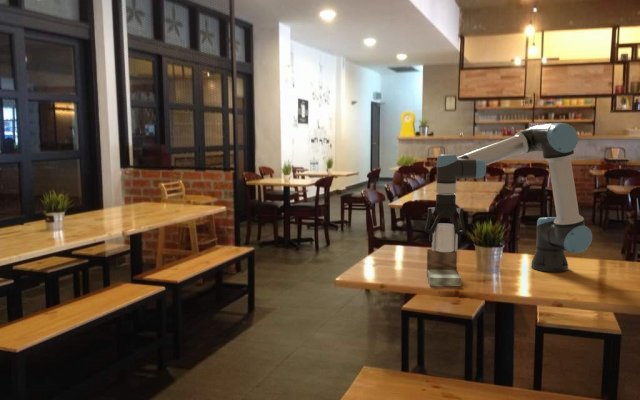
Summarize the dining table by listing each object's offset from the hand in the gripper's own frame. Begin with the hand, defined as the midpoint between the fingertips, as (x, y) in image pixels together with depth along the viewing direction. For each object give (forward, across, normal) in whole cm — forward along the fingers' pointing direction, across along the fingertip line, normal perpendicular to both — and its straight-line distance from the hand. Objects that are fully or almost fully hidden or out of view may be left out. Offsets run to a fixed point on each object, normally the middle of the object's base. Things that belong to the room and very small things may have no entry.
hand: (444, 250), depth 225 cm
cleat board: (+14, 0, -5) cm, 15 cm away
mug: (0, +1, 0) cm, 1 cm away
